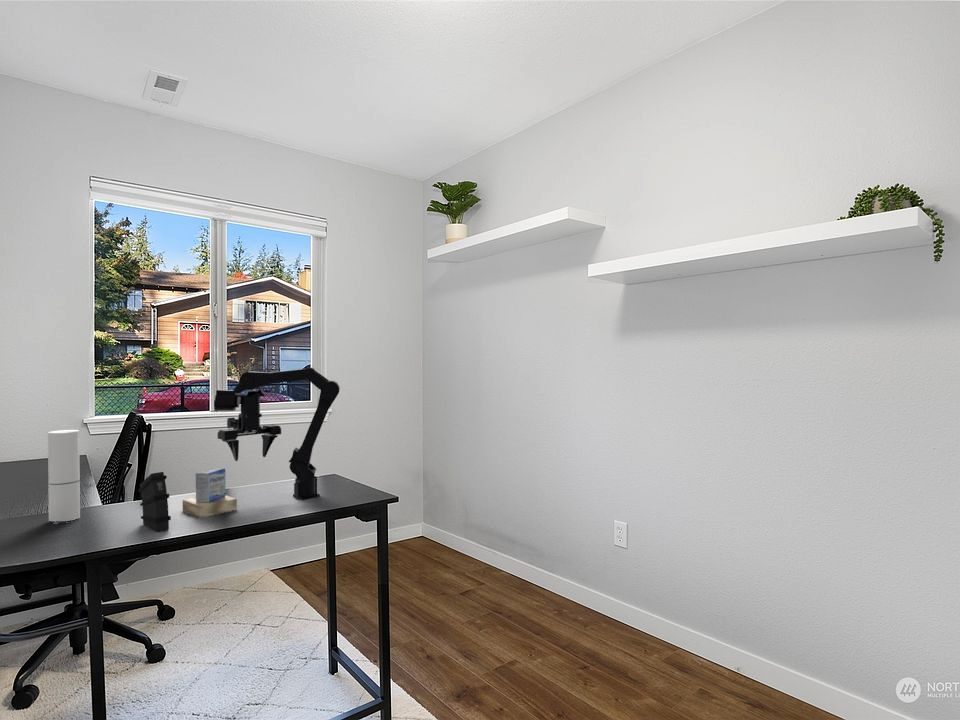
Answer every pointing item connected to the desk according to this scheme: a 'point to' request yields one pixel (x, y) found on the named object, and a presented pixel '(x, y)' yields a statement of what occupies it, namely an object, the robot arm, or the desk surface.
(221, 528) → the desk surface
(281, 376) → the robot arm
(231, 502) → the maple block
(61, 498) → the cylindrical container
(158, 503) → the magazine
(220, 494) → the medicine box
